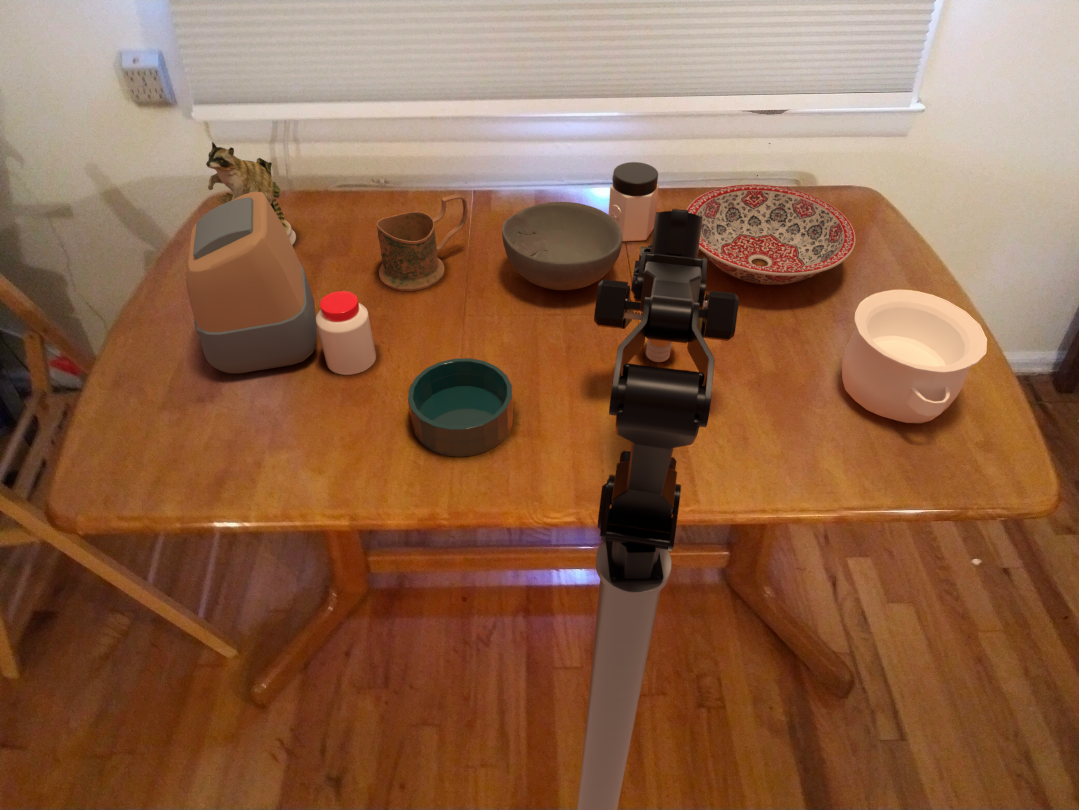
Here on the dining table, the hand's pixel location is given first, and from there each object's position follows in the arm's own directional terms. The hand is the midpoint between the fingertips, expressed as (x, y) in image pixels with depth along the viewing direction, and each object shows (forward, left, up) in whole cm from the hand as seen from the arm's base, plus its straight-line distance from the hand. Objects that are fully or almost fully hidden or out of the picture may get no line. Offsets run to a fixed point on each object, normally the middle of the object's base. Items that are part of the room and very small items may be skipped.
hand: (663, 317), depth 113 cm
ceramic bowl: (+28, -23, -10) cm, 38 cm away
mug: (+29, +37, -10) cm, 48 cm away
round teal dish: (-10, +29, -10) cm, 33 cm away
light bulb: (+3, -1, -10) cm, 11 cm away
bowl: (+25, +13, -10) cm, 30 cm away
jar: (+40, -1, -10) cm, 41 cm away
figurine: (+38, +68, -10) cm, 79 cm away
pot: (-6, -35, -10) cm, 37 cm away
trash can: (+8, +61, -10) cm, 63 cm away
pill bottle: (+4, +47, -10) cm, 49 cm away
